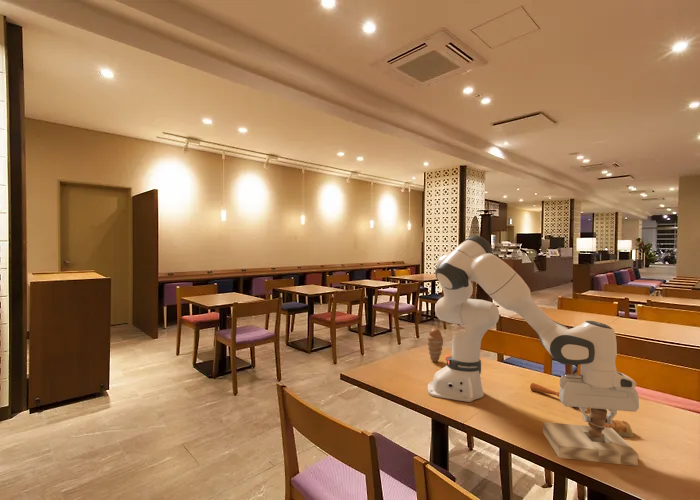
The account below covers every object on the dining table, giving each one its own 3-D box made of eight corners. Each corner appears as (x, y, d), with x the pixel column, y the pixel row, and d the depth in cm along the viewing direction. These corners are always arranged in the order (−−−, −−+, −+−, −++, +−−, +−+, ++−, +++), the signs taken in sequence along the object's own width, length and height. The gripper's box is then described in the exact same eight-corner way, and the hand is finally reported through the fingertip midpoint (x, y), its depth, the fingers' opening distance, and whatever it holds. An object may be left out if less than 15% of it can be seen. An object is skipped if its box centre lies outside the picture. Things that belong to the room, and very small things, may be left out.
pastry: (602, 436, 116) (602, 424, 116) (592, 425, 123) (592, 414, 123) (634, 438, 114) (635, 426, 114) (623, 428, 121) (623, 417, 121)
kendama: (537, 379, 153) (587, 392, 136) (536, 394, 152) (587, 409, 135) (528, 379, 150) (578, 393, 133) (527, 394, 150) (578, 409, 132)
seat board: (558, 457, 104) (559, 445, 104) (542, 432, 118) (542, 421, 118) (637, 465, 100) (637, 453, 100) (611, 438, 114) (611, 428, 114)
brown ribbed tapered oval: (446, 363, 184) (446, 328, 184) (431, 365, 183) (431, 329, 182) (437, 358, 193) (437, 324, 193) (424, 359, 191) (424, 325, 191)
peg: (589, 435, 107) (593, 409, 107) (584, 429, 111) (588, 403, 110) (605, 439, 106) (609, 413, 105) (599, 432, 110) (604, 407, 109)
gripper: (563, 377, 107) (563, 423, 107) (642, 382, 103) (641, 431, 103) (556, 370, 113) (555, 413, 113) (630, 375, 109) (629, 420, 109)
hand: (597, 422), depth 108 cm, fingers closed on peg, 4 cm apart
